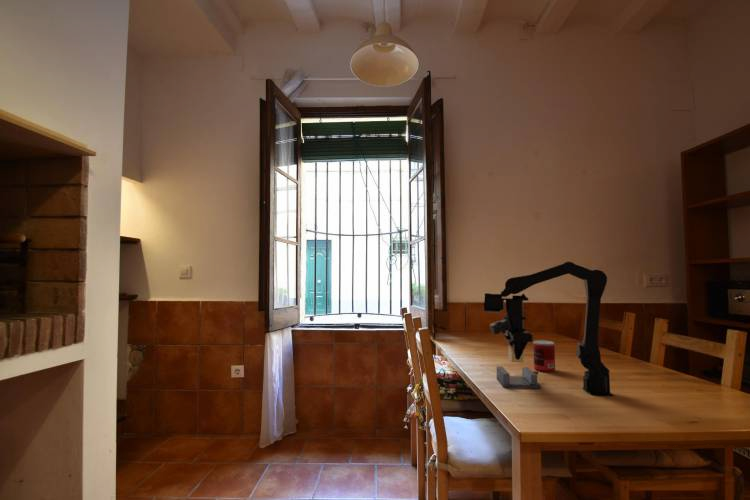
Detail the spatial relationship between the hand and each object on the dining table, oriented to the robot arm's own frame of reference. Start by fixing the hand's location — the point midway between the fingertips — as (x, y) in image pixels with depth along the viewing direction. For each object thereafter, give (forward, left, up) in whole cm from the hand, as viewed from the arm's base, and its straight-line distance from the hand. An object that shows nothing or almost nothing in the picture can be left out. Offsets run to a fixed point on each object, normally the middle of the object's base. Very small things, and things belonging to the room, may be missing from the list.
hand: (515, 357), depth 127 cm
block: (0, 0, -1) cm, 1 cm away
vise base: (0, 0, -9) cm, 9 cm away
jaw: (-6, 0, -7) cm, 9 cm away
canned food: (-16, -20, -9) cm, 27 cm away
